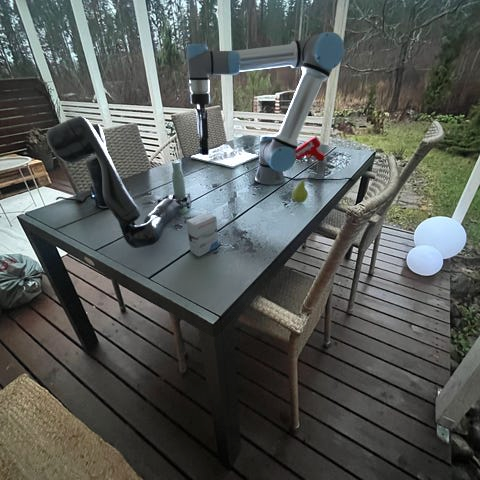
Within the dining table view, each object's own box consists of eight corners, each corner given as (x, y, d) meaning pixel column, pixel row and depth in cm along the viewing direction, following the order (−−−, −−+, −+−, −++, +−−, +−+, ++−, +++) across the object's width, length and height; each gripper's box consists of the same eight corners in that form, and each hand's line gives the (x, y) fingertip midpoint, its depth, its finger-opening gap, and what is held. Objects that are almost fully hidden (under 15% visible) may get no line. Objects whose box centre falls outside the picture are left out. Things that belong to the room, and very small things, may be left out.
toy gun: (328, 156, 170) (316, 135, 166) (328, 158, 166) (315, 136, 162) (303, 171, 180) (291, 152, 176) (302, 173, 176) (290, 153, 172)
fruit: (288, 200, 123) (290, 174, 116) (302, 197, 125) (305, 172, 119) (296, 206, 118) (299, 179, 111) (310, 203, 120) (314, 177, 114)
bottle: (187, 208, 117) (181, 160, 106) (188, 212, 113) (182, 163, 102) (176, 209, 116) (169, 161, 105) (177, 214, 112) (169, 164, 101)
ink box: (209, 241, 95) (207, 210, 88) (218, 246, 92) (217, 215, 85) (189, 251, 90) (185, 219, 83) (198, 257, 87) (195, 225, 80)
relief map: (232, 167, 162) (232, 159, 160) (191, 158, 180) (190, 150, 177) (257, 157, 181) (258, 149, 178) (218, 149, 198) (217, 142, 196)
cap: (197, 153, 118) (196, 148, 117) (205, 151, 121) (204, 146, 120) (203, 155, 116) (202, 149, 114) (211, 153, 118) (210, 148, 117)
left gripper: (182, 204, 96) (198, 187, 110) (145, 201, 99) (165, 184, 113) (184, 223, 100) (200, 203, 114) (149, 219, 103) (168, 201, 117)
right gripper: (187, 91, 112) (193, 149, 124) (193, 94, 98) (198, 159, 110) (205, 90, 113) (209, 148, 126) (213, 94, 100) (216, 158, 112)
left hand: (182, 194), depth 113 cm, fingers closed on bottle, 4 cm apart
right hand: (204, 153), depth 118 cm, fingers closed on cap, 4 cm apart
